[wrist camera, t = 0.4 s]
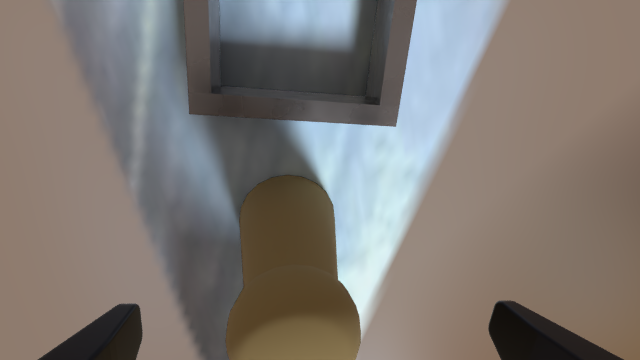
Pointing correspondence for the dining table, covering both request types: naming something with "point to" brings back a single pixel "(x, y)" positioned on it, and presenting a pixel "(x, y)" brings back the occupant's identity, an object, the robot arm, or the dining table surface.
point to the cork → (291, 278)
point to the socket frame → (295, 105)
